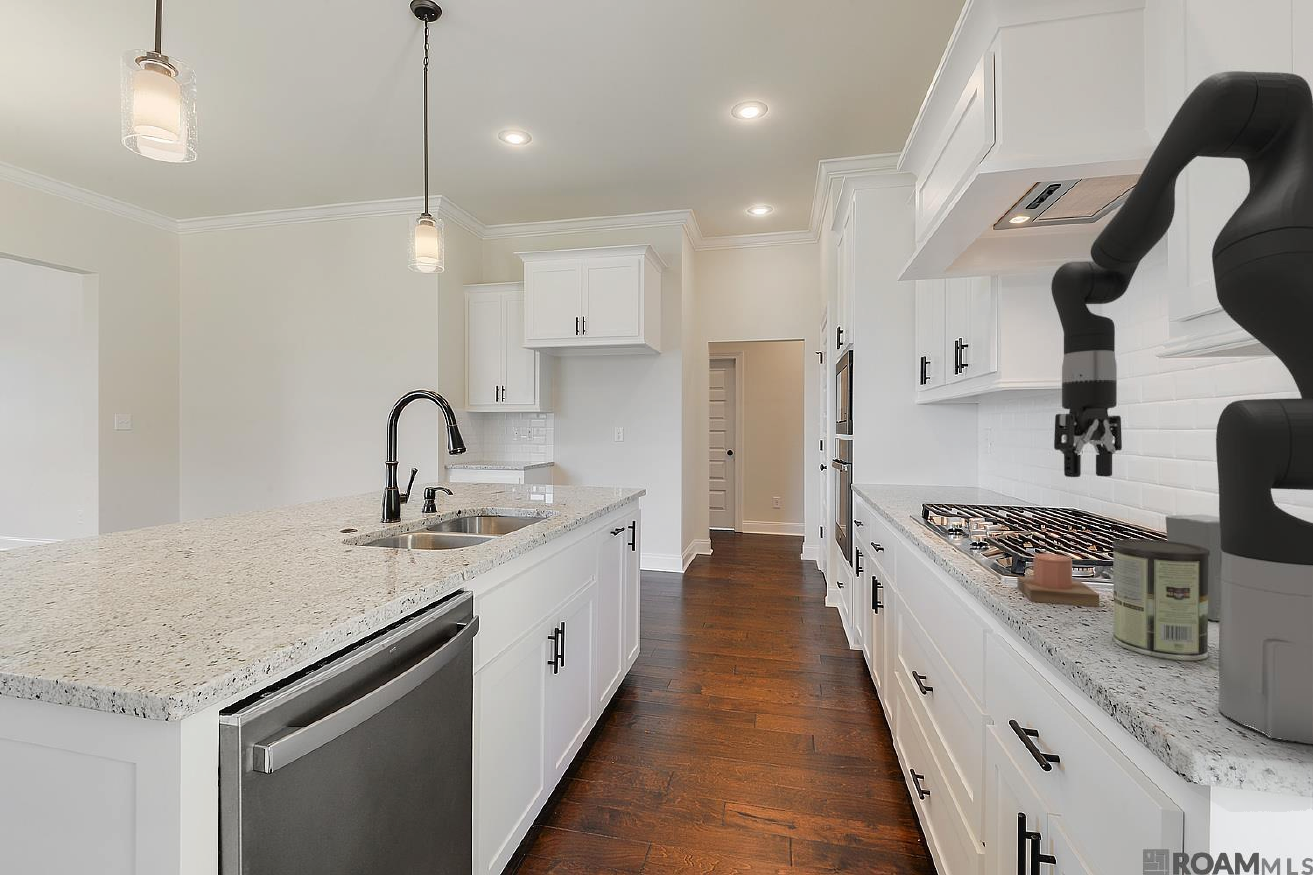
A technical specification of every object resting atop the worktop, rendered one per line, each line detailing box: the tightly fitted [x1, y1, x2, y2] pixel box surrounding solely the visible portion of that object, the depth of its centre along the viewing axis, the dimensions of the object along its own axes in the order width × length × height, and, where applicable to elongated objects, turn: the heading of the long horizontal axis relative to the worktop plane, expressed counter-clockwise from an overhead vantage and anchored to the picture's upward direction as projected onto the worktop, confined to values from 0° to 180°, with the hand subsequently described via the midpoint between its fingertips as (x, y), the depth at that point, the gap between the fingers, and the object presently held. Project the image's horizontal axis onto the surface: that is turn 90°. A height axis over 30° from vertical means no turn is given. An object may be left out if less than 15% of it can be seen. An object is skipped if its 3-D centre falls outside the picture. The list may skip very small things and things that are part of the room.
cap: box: [1032, 553, 1073, 589], centre depth 109 cm, size 6×6×5 cm
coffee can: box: [1111, 538, 1210, 662], centre depth 84 cm, size 10×10×14 cm
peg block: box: [1016, 576, 1100, 608], centre depth 108 cm, size 10×10×6 cm
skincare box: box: [1165, 514, 1221, 622], centre depth 98 cm, size 8×7×16 cm
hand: (1088, 476), depth 102 cm, fingers open, 8 cm apart
